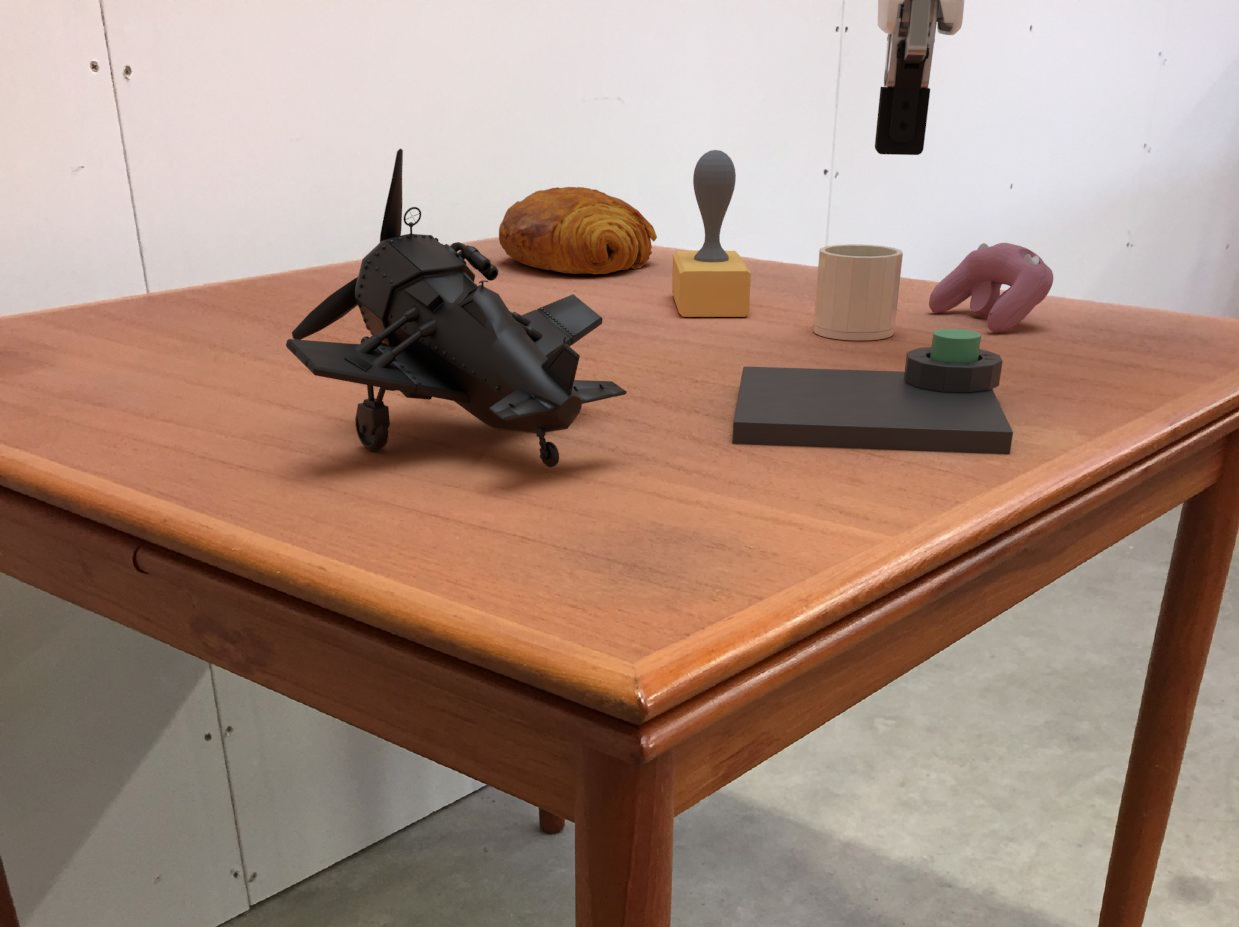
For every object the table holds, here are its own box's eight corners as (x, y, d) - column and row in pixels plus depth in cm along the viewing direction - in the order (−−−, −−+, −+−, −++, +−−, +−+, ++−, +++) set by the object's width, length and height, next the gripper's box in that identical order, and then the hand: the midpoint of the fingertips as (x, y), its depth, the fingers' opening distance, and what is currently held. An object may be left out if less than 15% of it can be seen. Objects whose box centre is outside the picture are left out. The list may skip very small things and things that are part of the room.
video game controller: (1028, 351, 107) (1074, 265, 105) (988, 328, 105) (1035, 240, 102) (957, 327, 115) (999, 247, 113) (919, 305, 112) (961, 222, 110)
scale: (989, 394, 89) (995, 347, 88) (1017, 456, 77) (1026, 403, 76) (742, 385, 91) (744, 339, 89) (732, 445, 79) (734, 393, 77)
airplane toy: (510, 386, 90) (500, 133, 82) (711, 448, 78) (722, 158, 70) (241, 441, 79) (199, 154, 71) (426, 523, 67) (401, 188, 59)
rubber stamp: (749, 317, 111) (757, 155, 104) (679, 317, 110) (683, 155, 104) (736, 295, 119) (743, 144, 113) (671, 295, 119) (675, 144, 113)
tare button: (974, 357, 87) (978, 329, 86) (979, 368, 84) (983, 339, 84) (927, 356, 87) (931, 327, 86) (931, 366, 85) (935, 337, 84)
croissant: (547, 306, 125) (548, 215, 120) (479, 257, 135) (477, 171, 130) (680, 289, 131) (687, 201, 126) (605, 242, 141) (608, 160, 136)
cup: (891, 325, 108) (900, 245, 105) (895, 342, 103) (904, 258, 100) (813, 323, 109) (819, 243, 106) (813, 339, 104) (819, 256, 100)
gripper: (1014, -191, 77) (966, 166, 86) (978, -164, 89) (941, 144, 99) (881, -191, 77) (849, 163, 87) (865, -164, 90) (838, 142, 99)
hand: (898, 152), depth 93 cm, fingers closed
